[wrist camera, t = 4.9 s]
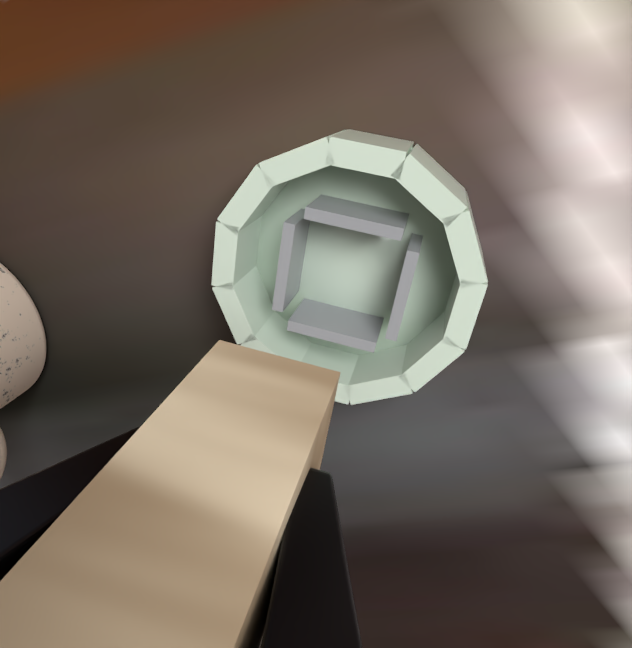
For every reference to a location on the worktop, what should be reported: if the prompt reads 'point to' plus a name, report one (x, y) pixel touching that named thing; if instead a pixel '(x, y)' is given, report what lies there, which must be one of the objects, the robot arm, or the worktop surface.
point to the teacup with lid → (18, 345)
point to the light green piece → (352, 263)
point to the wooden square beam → (180, 516)
